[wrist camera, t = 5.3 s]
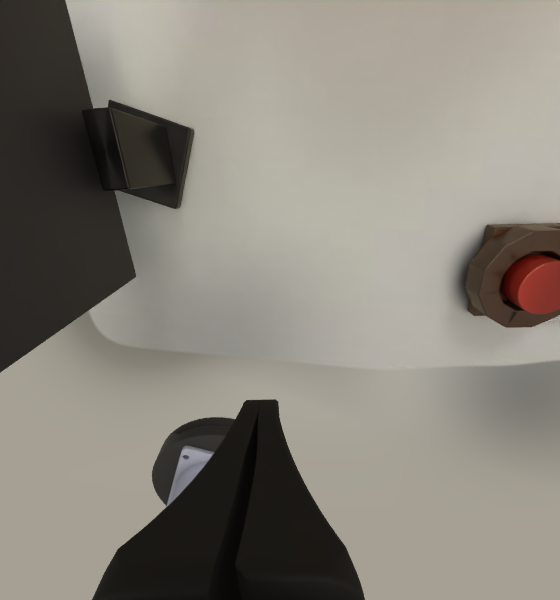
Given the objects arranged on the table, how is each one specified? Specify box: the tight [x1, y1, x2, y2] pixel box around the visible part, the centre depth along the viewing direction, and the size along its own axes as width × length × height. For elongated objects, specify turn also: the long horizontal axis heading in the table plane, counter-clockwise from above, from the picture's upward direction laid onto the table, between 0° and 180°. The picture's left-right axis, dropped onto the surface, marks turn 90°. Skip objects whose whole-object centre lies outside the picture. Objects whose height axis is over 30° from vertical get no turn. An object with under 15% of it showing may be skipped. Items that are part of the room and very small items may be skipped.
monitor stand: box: [82, 100, 194, 209], centre depth 16 cm, size 5×5×7 cm
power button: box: [501, 254, 560, 314], centre depth 18 cm, size 3×3×2 cm
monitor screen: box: [0, 0, 136, 372], centre depth 10 cm, size 1×12×9 cm, turn 4°
